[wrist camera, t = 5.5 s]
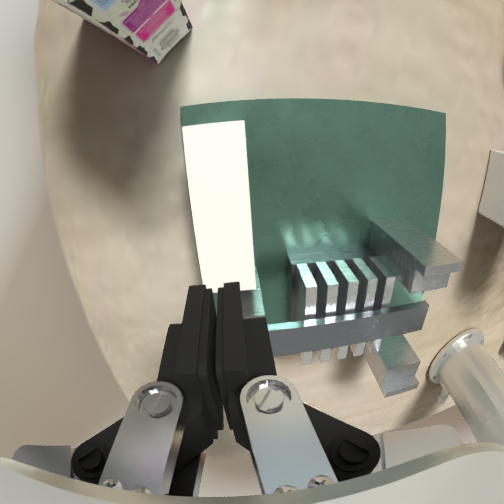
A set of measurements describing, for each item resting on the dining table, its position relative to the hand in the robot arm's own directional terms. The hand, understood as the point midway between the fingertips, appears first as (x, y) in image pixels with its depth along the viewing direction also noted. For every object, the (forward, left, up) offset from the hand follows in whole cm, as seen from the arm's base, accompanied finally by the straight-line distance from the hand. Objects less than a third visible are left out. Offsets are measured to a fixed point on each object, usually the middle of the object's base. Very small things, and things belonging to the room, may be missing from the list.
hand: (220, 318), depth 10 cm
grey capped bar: (-11, -7, -11) cm, 17 cm away
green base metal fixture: (-5, -10, -18) cm, 21 cm away
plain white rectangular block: (0, 0, -17) cm, 17 cm away
